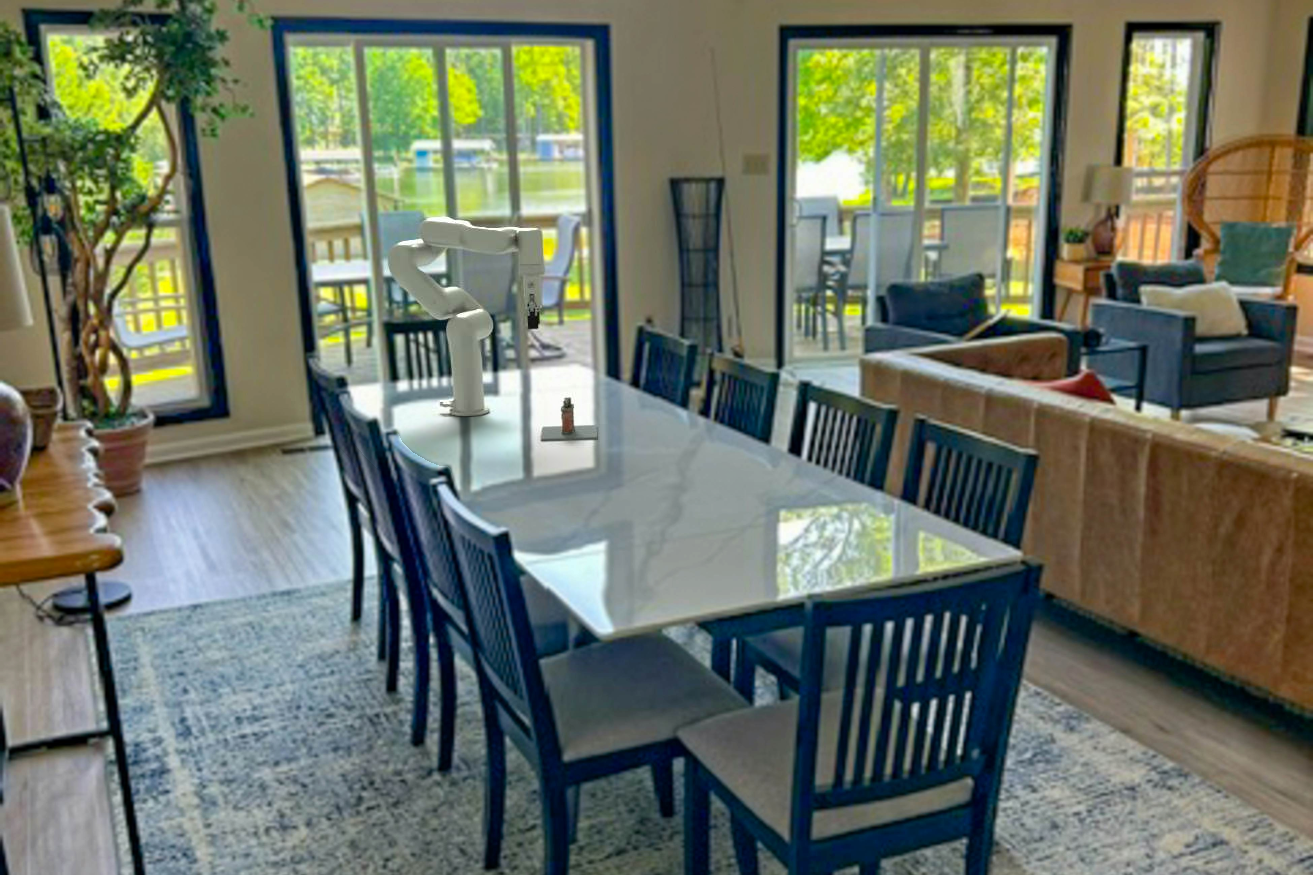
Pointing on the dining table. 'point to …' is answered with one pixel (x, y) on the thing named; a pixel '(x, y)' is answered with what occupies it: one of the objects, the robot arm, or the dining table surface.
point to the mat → (579, 434)
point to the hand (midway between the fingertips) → (533, 326)
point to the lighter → (567, 417)
